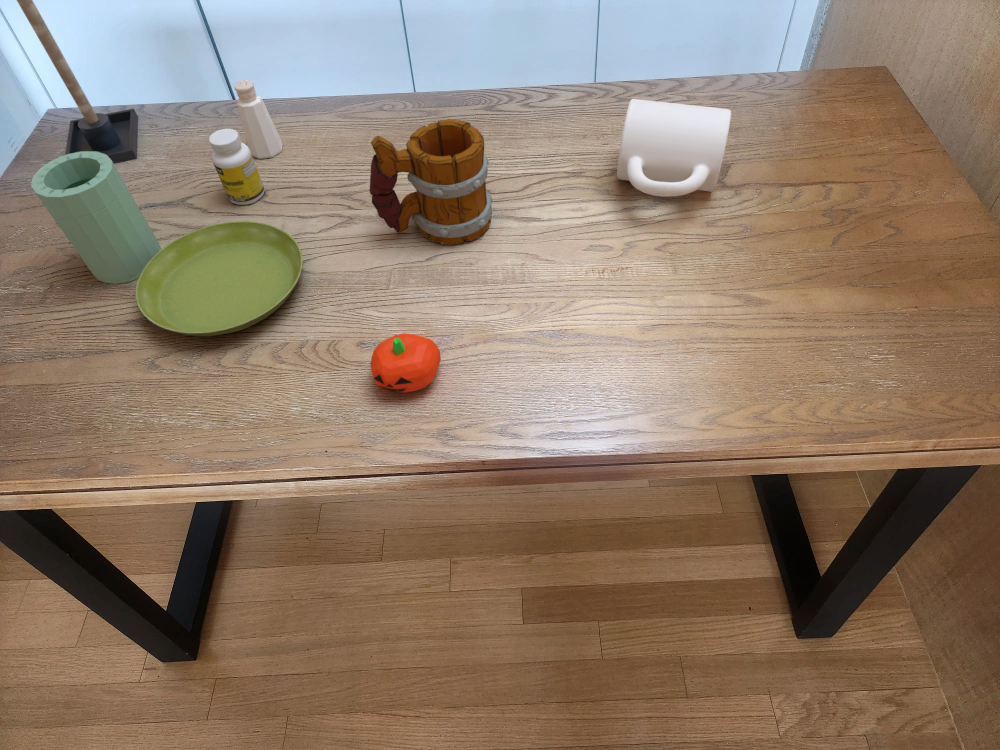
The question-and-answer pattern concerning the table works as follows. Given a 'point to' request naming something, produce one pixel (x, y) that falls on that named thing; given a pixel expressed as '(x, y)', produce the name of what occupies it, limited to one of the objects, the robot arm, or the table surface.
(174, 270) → the saucer
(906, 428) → the table surface
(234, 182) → the supplement bottle
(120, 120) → the tray
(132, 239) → the jar
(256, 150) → the salt shaker
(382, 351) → the pumpkin
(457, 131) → the mug
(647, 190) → the mug
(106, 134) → the wooden handled plunger
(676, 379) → the table surface
